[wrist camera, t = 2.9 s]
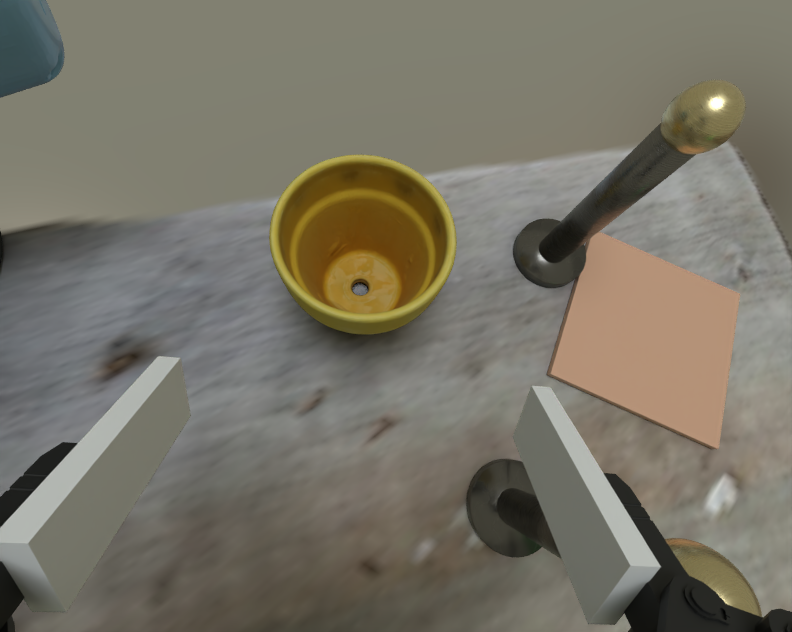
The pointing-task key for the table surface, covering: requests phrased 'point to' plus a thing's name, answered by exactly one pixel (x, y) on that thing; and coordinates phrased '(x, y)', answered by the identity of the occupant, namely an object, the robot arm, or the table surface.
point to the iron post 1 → (631, 180)
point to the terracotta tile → (649, 339)
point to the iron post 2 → (528, 531)
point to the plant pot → (362, 242)
